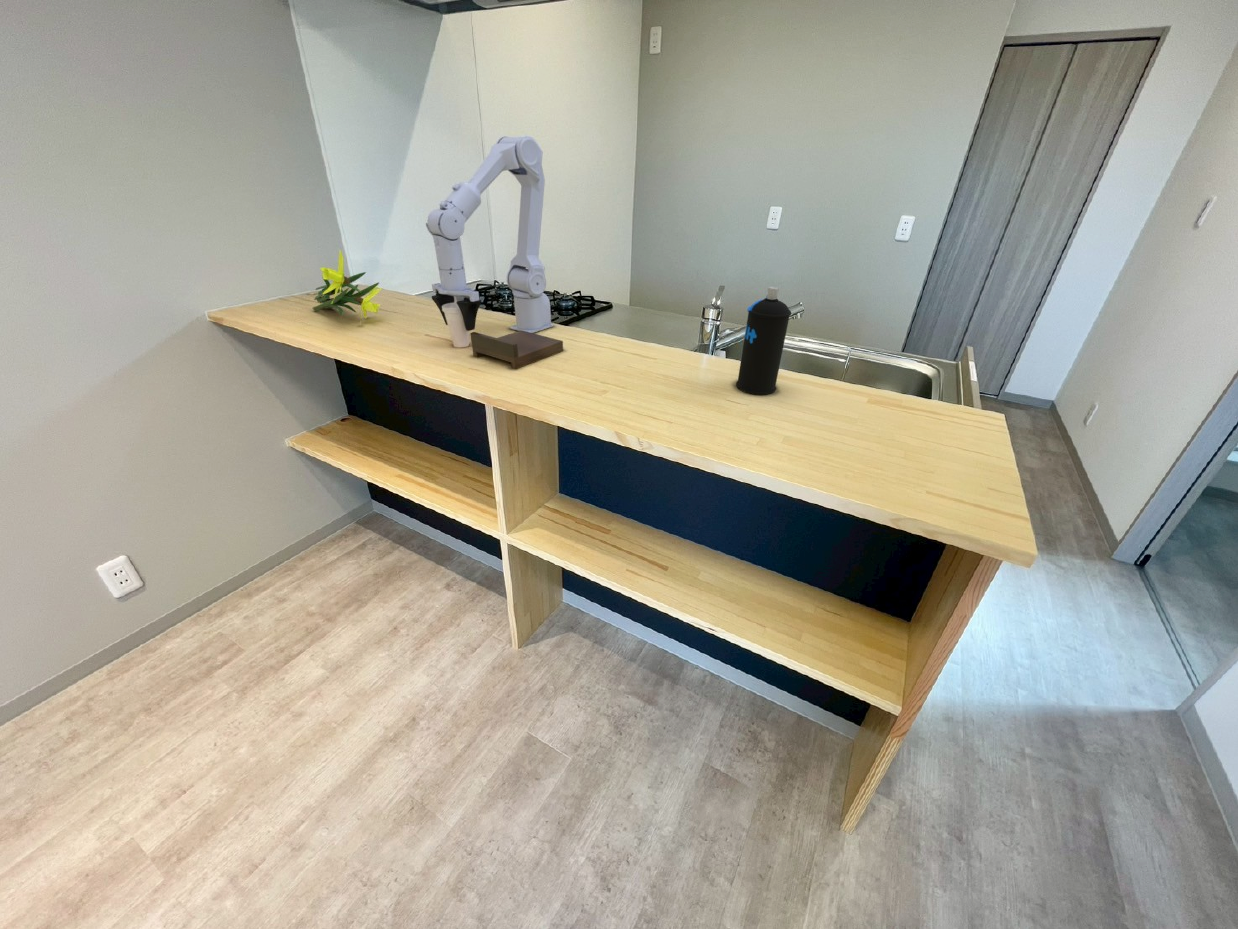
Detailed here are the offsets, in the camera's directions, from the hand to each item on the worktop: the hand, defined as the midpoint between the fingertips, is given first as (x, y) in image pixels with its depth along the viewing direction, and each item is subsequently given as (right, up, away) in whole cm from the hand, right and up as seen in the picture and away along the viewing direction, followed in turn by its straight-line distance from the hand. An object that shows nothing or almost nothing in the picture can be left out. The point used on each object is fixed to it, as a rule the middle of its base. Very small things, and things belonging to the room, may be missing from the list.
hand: (460, 326), depth 120 cm
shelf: (+15, -7, -2) cm, 17 cm away
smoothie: (0, -4, +2) cm, 5 cm away
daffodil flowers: (-40, +8, +20) cm, 46 cm away
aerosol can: (+67, -18, -17) cm, 72 cm away
